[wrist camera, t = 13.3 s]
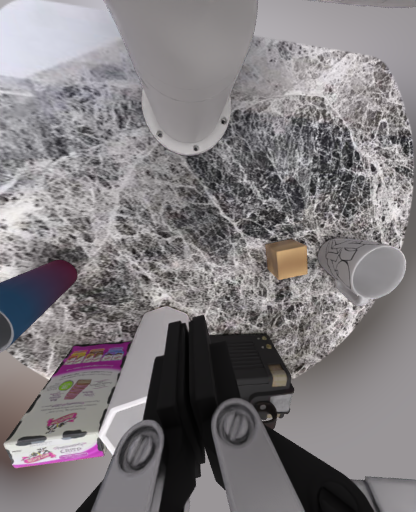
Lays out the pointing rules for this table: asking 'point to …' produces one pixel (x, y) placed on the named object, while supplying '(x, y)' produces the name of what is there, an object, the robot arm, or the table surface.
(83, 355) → the candy bar box
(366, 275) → the mug
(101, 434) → the cup
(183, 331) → the robot arm
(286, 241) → the block
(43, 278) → the cup
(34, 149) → the table surface
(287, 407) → the camera
